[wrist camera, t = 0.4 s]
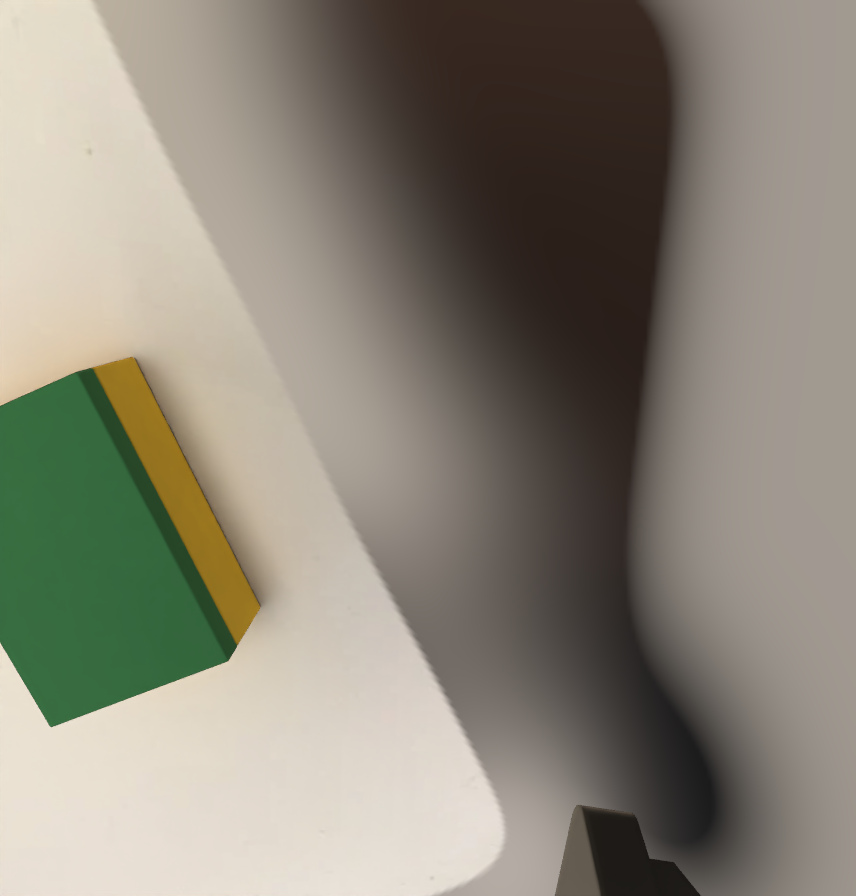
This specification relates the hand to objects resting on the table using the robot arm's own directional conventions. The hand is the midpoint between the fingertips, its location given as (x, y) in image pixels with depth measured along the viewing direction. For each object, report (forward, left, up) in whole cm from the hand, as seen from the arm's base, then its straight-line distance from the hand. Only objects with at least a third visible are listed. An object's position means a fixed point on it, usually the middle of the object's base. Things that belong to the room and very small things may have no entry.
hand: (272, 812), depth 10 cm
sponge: (+7, -6, -14) cm, 16 cm away
